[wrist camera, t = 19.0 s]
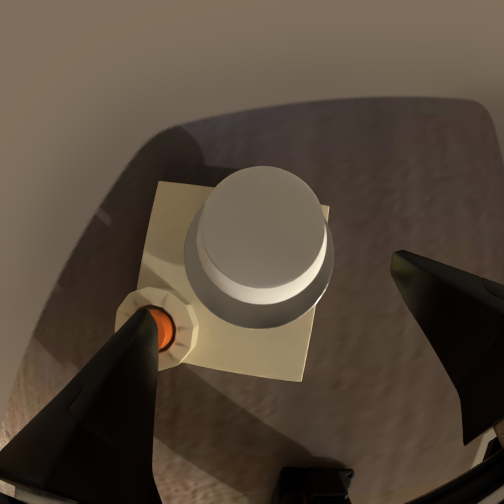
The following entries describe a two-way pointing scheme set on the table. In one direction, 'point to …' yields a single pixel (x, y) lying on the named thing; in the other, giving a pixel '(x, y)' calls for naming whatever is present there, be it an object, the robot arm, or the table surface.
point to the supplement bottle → (262, 235)
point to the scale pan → (247, 312)
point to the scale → (194, 312)
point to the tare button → (162, 327)
